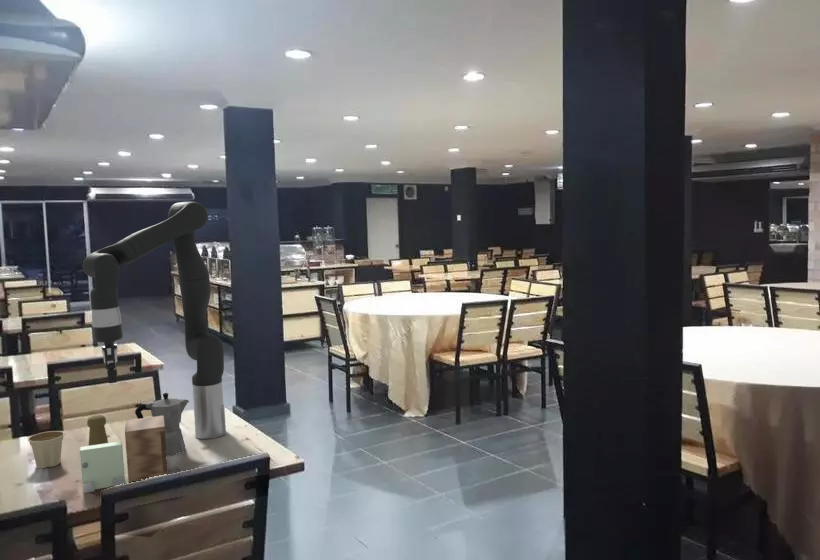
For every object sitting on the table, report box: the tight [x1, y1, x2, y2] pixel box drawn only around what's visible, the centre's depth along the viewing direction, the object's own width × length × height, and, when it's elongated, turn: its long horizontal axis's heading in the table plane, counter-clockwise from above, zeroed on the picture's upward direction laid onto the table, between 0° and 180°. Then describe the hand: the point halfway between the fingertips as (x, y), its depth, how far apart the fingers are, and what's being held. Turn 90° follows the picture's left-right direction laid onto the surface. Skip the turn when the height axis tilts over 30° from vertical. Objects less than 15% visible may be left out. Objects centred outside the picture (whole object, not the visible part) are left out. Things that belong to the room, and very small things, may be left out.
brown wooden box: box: [124, 415, 169, 483], centre depth 185 cm, size 10×11×14 cm
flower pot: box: [27, 430, 65, 469], centre depth 193 cm, size 9×9×9 cm
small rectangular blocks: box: [82, 477, 123, 494], centre depth 177 cm, size 9×6×2 cm, turn 112°
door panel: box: [79, 440, 126, 492], centre depth 176 cm, size 10×4×11 cm, turn 112°
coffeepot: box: [134, 392, 190, 456], centre depth 201 cm, size 15×9×18 cm, turn 116°
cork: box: [86, 414, 109, 446], centre depth 204 cm, size 6×6×11 cm
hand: (113, 379), depth 190 cm, fingers open, 8 cm apart
